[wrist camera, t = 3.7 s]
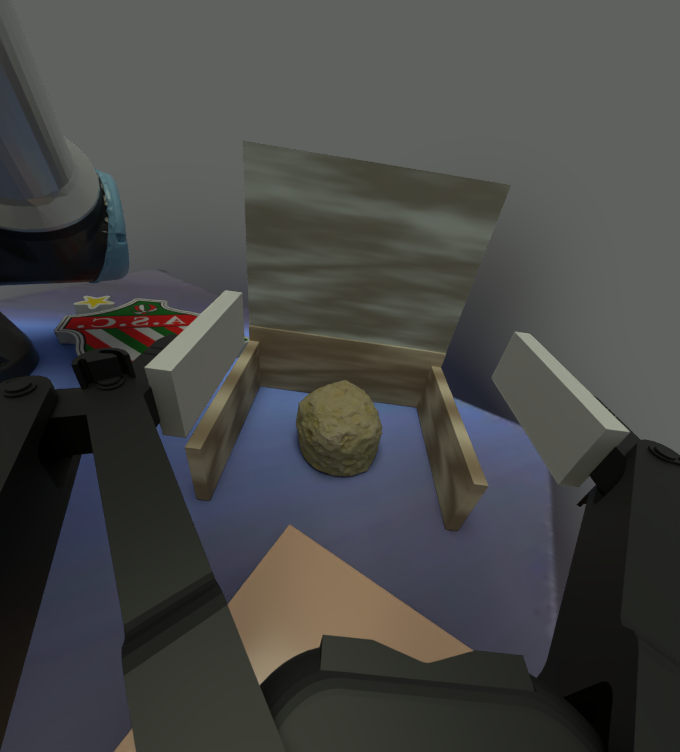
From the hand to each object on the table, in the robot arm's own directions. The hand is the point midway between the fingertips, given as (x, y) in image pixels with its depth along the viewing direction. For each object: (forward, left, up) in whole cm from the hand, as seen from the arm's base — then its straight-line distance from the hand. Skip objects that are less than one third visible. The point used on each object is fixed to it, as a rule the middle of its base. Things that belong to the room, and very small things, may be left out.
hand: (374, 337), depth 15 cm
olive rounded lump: (-10, +5, -20) cm, 23 cm away
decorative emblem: (-41, -14, -21) cm, 48 cm away
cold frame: (-10, +5, -20) cm, 23 cm away
